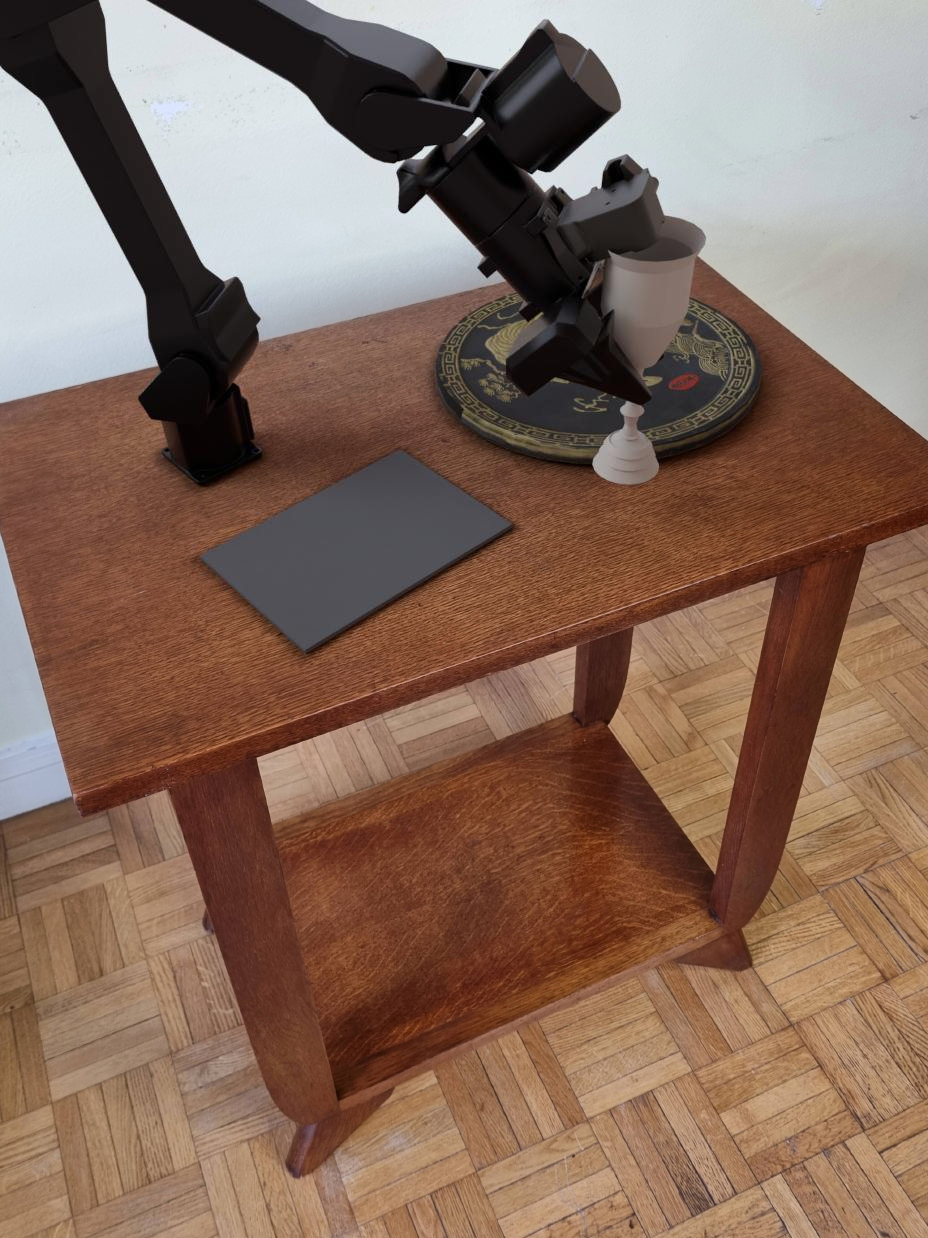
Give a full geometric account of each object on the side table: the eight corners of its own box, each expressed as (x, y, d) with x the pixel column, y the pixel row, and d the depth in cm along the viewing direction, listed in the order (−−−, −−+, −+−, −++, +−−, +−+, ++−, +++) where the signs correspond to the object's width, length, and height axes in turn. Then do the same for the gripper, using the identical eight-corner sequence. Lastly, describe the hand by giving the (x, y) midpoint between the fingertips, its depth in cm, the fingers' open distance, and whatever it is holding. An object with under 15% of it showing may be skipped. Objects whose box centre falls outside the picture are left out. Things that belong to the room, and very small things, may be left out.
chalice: (613, 428, 87) (636, 205, 74) (688, 458, 84) (726, 231, 71) (562, 471, 83) (577, 242, 70) (639, 504, 80) (669, 271, 67)
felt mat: (305, 654, 77) (305, 650, 76) (200, 559, 84) (199, 555, 84) (512, 527, 86) (512, 523, 85) (400, 452, 93) (400, 448, 93)
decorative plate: (835, 372, 96) (565, 494, 85) (831, 391, 98) (564, 513, 86) (619, 251, 115) (374, 339, 104) (618, 268, 116) (375, 356, 105)
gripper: (561, 197, 61) (731, 393, 66) (621, 81, 74) (760, 254, 79) (433, 308, 68) (596, 477, 74) (508, 186, 81) (642, 337, 86)
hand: (653, 380), depth 78 cm, fingers closed on chalice, 5 cm apart
